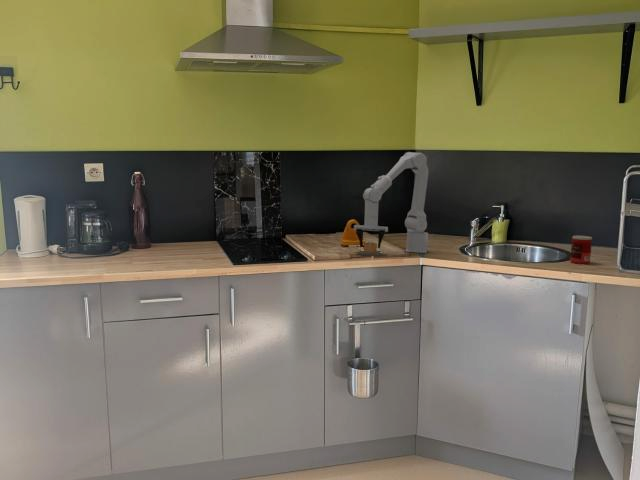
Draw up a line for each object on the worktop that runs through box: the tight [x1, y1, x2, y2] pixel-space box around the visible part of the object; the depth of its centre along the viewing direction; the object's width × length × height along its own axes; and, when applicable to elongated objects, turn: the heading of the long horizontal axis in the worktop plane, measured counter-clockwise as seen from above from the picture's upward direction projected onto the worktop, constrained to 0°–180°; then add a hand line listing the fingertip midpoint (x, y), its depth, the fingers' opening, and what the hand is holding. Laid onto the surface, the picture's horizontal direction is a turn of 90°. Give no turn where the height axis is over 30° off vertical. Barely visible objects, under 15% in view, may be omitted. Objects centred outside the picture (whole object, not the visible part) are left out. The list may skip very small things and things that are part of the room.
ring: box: [363, 242, 378, 253], centre depth 267 cm, size 5×5×4 cm
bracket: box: [340, 219, 367, 246], centre depth 287 cm, size 11×7×12 cm, turn 95°
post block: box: [357, 241, 382, 257], centre depth 267 cm, size 9×9×5 cm
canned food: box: [569, 235, 593, 265], centre depth 257 cm, size 8×8×11 cm
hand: (370, 247), depth 267 cm, fingers open, 7 cm apart
